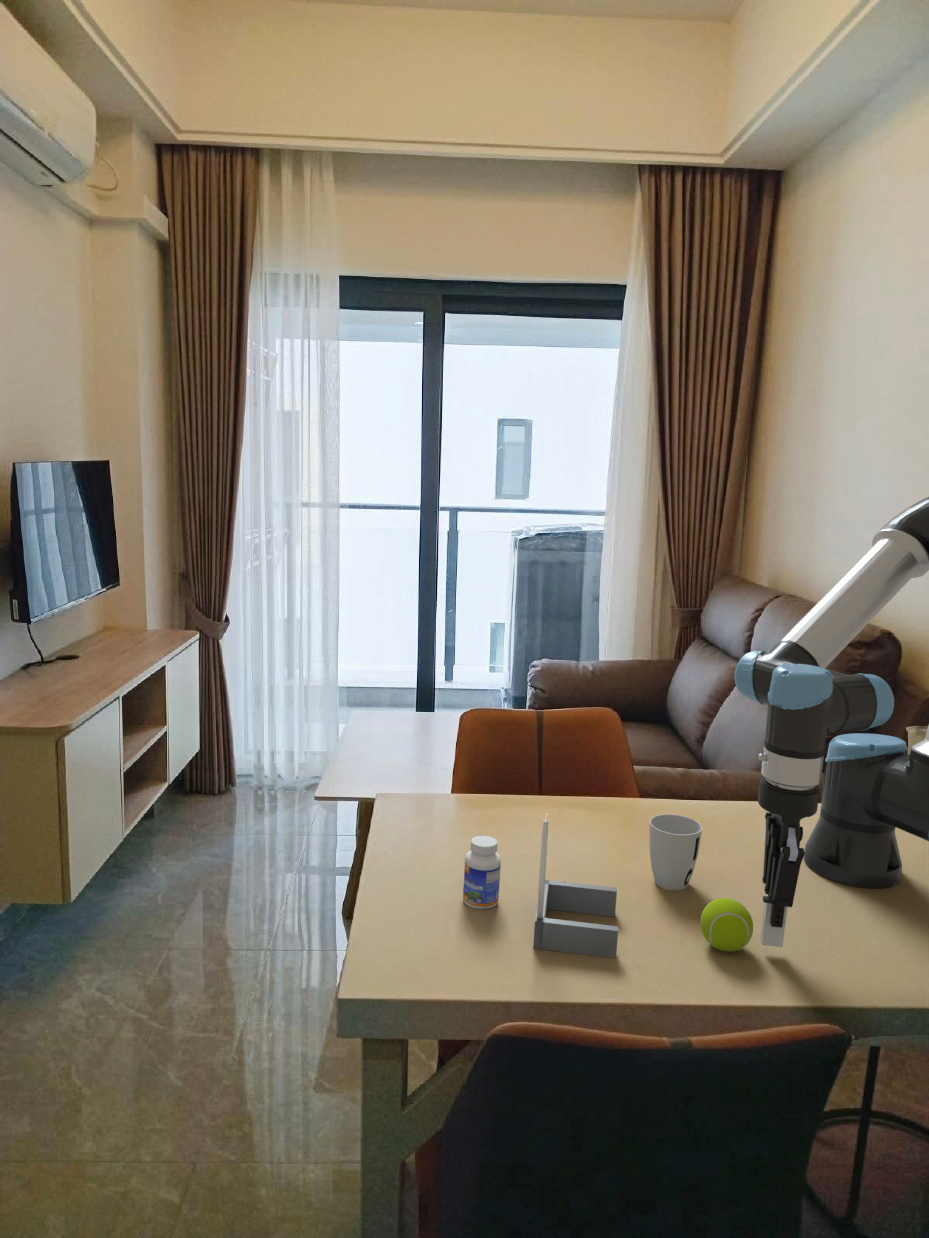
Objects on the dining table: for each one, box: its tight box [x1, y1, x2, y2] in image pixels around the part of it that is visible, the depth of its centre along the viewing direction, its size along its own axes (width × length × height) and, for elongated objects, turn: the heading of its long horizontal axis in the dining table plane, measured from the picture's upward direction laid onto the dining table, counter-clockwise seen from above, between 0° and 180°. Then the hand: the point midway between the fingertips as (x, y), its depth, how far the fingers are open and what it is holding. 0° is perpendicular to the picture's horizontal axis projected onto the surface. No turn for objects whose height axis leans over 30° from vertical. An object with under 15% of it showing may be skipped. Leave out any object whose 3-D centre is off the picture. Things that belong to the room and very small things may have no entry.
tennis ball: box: [700, 897, 754, 952], centre depth 120 cm, size 7×7×7 cm
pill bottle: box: [462, 835, 502, 910], centre depth 130 cm, size 5×5×10 cm
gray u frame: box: [532, 812, 619, 959], centre depth 123 cm, size 11×12×18 cm
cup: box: [648, 813, 703, 891], centre depth 139 cm, size 8×8×10 cm
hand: (771, 943), depth 120 cm, fingers closed
